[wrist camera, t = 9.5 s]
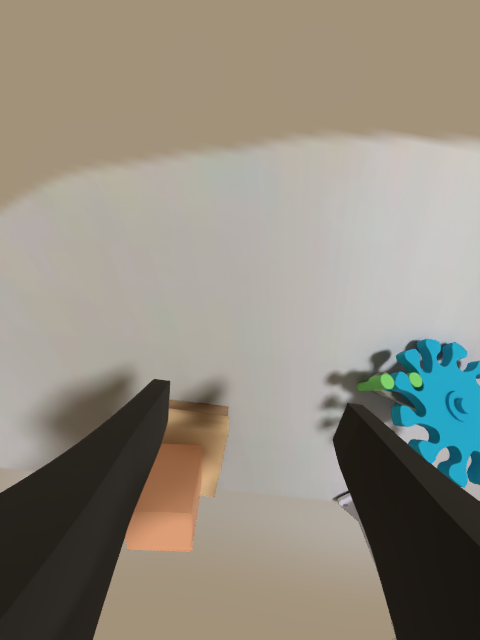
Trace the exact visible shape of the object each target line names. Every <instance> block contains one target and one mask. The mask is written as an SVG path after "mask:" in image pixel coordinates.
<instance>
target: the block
mask: <svg viewBox="0 0 480 640" xmlns="http://www.w3.org/2000/svg"><path fill="white" fill-rule="evenodd" d="M201 483H202V445H183V444H161V447H160V449H159V452H158V454H157V457H156V459H155V462H154V464H153V466H152V469H151V471H150V474H149V476H148V479H147V481H146V483H145V486H144V488H143V491H142V493H141V496H140V498H139V500H138V503H137V505H136V508H135V510H134V513H133V515H132V518H131V521H130V523H129V526H128V529H127V532H126V535H125V537H126V542H127V547H128V549H129V550H130V549H131V550H162V551H192V548H193V541H194V533H195V526H196V519H197V511H198V505H199V498H200V491H201Z"/></svg>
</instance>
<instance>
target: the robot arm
mask: <svg viewBox="0 0 480 640" xmlns="http://www.w3.org/2000/svg"><path fill="white" fill-rule="evenodd" d="M169 394H170V381H166V380H158V379H154V380H153V381H151V382H150V383H149V384H148V385H147V386H146V387H145V388H144V389H143V390H142V391H141V392H139V393H138V394H137V395H136V396H135V397H134V398H133V399H132V400H131V401H130V402H128V403H127V404H126V405H125V406H124V407H123V408H121V409H120V410H119V411H118V412H117V413H116V414H115V415H113V416H112V417H111V418H110V419H109V420H107V421H106V422H105V423H103V424H102V425H101V426H100V427H98V428H97V429H96V430H95V431H93V432H92V433H91V434H89V435H88V436H87V437H85V438H84V439H83V440H81V441H80V442H79V443H77V444H76V445H75V446H73V447H72V448H70V449H69V450H67V451H66V452H65V453H63V454H62V455H60V456H59V457H57V458H56V459H54V460H53V461H51V462H50V463H48V464H47V465H45V466H43V467H42V468H40V469H39V470H37V471H36V472H34V473H32V474H31V475H29V476H28V477H26V478H24V479H23V480H21V481H20V482H18V483H17V484H15V485H13V486H11V487H10V488H8V489H6V490H5V491H3V492H1V493H0V640H93V637H94V634H95V630H96V627H97V624H98V620H99V617H100V614H101V610H102V607H103V604H104V601H105V598H106V594H107V591H108V588H109V585H110V582H111V578H112V575H113V572H114V569H115V566H116V563H117V560H118V557H119V554H120V550H121V547H122V544H123V541H124V538H125V535H126V532H127V529H128V526H129V523H130V521H131V518H132V515H133V513H134V510H135V508H136V505H137V503H138V500H139V498H140V496H141V493H142V491H143V488H144V486H145V483H146V481H147V479H148V476H149V474H150V471H151V469H152V466H153V464H154V462H155V459H156V457H157V454H158V452H159V449H160V447H161V444H162V440H163V437H164V434H165V430H166V427H167V423H168V416H169ZM333 443H334V447H335V452H336V456H337V459H338V463H339V466H340V469H341V472H342V474H343V477H344V480H345V482H346V485H347V488H348V490H349V493H348V494H346V495H344V496H342V497H340V498H338V500H337V501H338V504H339V505H340V506H341V507H343V508H344V509H345V510H346V511H347V512H348V513H349V514H350V515H352V516H353V517H354V518H355V519H356V520H357V521H358V522H359V524H360V527H361V529H362V532H363V534H364V537H365V540H366V542H367V545H368V548H369V550H370V553H371V555H372V558H373V561H374V563H375V566H376V569H377V571H378V574H379V577H380V581H381V584H382V587H383V591H384V595H385V598H386V602H387V605H388V609H389V613H390V616H391V620H392V623H391V624H392V626H393V629H394V632H395V635H396V638H394V639H393V640H480V501H478V500H477V499H476V498H474V497H473V496H472V495H470V494H469V493H467V492H466V491H465V490H463V489H462V488H461V487H460V486H458V485H457V484H456V483H454V482H453V481H452V480H450V479H449V478H448V477H447V476H445V475H444V474H443V473H442V472H441V471H439V470H438V469H437V468H436V467H434V466H433V465H432V464H431V463H429V462H428V461H427V460H426V459H425V458H423V457H422V456H421V455H420V454H419V453H417V452H416V451H415V450H414V449H413V448H412V447H410V446H409V445H408V444H407V443H406V442H405V441H403V440H402V439H401V438H400V437H399V436H398V435H397V434H395V433H394V432H393V431H392V430H391V429H390V428H389V427H388V426H386V425H385V424H384V423H383V422H382V421H381V420H380V419H378V418H377V417H376V416H375V415H374V414H373V413H371V412H370V411H369V410H368V409H366V408H365V407H364V406H363V405H358V404H350V403H347V406H346V408H345V411H344V413H343V416H342V418H341V420H340V423H339V425H338V428H337V430H336V433H335V435H334V437H333Z"/></svg>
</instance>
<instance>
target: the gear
mask: <svg viewBox="0 0 480 640" xmlns="http://www.w3.org/2000/svg"><path fill="white" fill-rule="evenodd" d="M417 348H418V350H419V352H420V354H421V356H422V360H423V370H422V369H421V367H420V355H419V353H418V351H417V350H416V349H410V350H407V351H404V352H401V353H399V354H397V355H396V358H397V361H398V362H399V363H400V364H401V365H402V366H403V367H404V368H405V369H406V370H407V371H408V374H405V373H404V372H401V371H400V372H395V373H392V374H391V375H390V374H388V373H386V372H382V373H377V374H374V375H373V376H372V377H370V378H369V380H368V381H367V382H362V383H358V384H357V389H358V390H359V391H361V392H362V391H370V390H374V391H375V392H376V393H377V394H379V395H381V396H384V397H386V398H388V399H390V400H392V401H395V402H397V403H396V405H395V406H393V407H392V409H391V415H392V421H393V424H395V425H397V426H407V427H410V426H412V425H414V424H417V425H420V426H422V427H424V428H425V429H426V430H427V431H428V433H429V440H428V441H425V440H416V439H413V440H410V441H409V443H408V445H409V446H410V447H412V448H413V449H414V450H415V451H416V452H417V453H419V454H420V455H421V456H422V457H423V458H425V459H426V460H427V461H428V462H429V463H433V462H434V461H435V459H436V456H437V454H438V452H439V451H440V450H441V449H443V448H445V447H447V448H448V450H449V453H450V457H449V459H448V460H447V461H444V462H441V463H439V465H438V467H437V469H438V470H439V471H441V472H442V473H443V474H444V475H445V476H447V477H448V478H449V479H450V480H452V481H453V482H454V483H456V484H457V485H458V486H460V487H465V486H466V485H467V475H468V478H469V481H470V482H472V483H474V484H478V485H480V386H479V385H478V384H477V382H476V379H479V378H480V361H476V362H470V363H468V365H467V367H466V369H465V370H464V371H461V370H460V369H459V368H458V366H457V360H458V359H462V358H465V357H466V356H467V351H466V350H465V349H464V348H463V347H462V346H461V345H459V344H457V343H456V342H453V343H450V344H446V345H444V346H443V348H442V351H443V359H442V362H441V364H439V363H438V361H437V355H438V353H439V352H440V351H441V345H440V343H439V342H438V341H436V340H432V339H425V340H422V341H419V342H417ZM469 456H471V459H472V462H471V465H470V466H469V468H468V471H467V474H466V466H467V461H468V458H469Z"/></svg>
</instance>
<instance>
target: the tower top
mask: <svg viewBox="0 0 480 640" xmlns="http://www.w3.org/2000/svg"><path fill="white" fill-rule="evenodd" d="M228 427H229V417H228V416H221V415H214V414H206V413H199V412H192V411H185V410H177V409H170V408H169V416H168V423H167V427H166V430H165V434H164V437H163V440H162V444H183V445H202V483H201V491H200V495H202V496H210V497H215V492H216V488H217V483H218V479H219V474H220V470H221V465H222V460H223V456H224V451H225V447H226V442H227V438H228Z"/></svg>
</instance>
